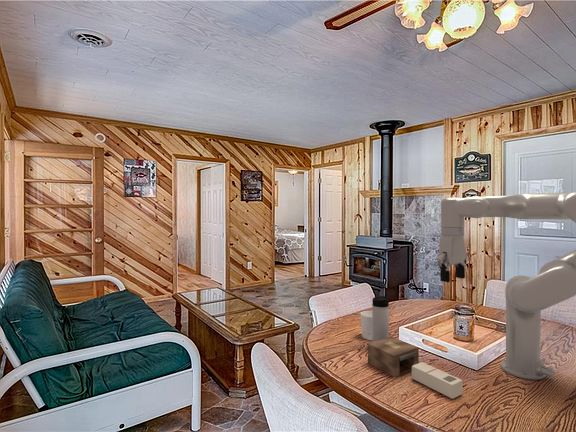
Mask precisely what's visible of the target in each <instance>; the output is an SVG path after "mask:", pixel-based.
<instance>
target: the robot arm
mask: <svg viewBox="0 0 576 432" xmlns="http://www.w3.org/2000/svg"><path fill="white" fill-rule="evenodd" d="M465 218H472V219H481V218H510V219H516V220H571V221H572V222H573V223H575V224H576V191H571V192H568V191H567V192H538V193H537V192H533V193H532V192H531V193H529V192H528V193H518V194H511V195H500V196H498V195H497V196H496V195H495V196H492V195H491V196H478V195H476V196H469V197H443V198H442V199H441V202H440V235H441V236H440V237H439V245H438V258H437V259H436V260H437V261H436V262H437V264H438V267H439V271H440V274H439V275H440V276H439V277H440V280H439V281H440V282H442V283H443V282H444V283H450V282H451V281H450V280H451V276H450V275H451V270H450V268H451V266H452V265H453V266H454V265H456V266H455V278H457V279H463V280H465V278H466V267H467V266H466V263H467V258H468V254H467V253H466V244H465V243H466V242H465ZM504 290H505V291H504V293H505V312H506V313H505V359H504V360H501V361H500V368H501V370H502V371H504V372H505V373H508V374H509V375H512V376H515V377H517V378H521V379H525V380H535V381H536V380H543V379H544V378H546V377H550V378H552V379H553V378H555V376H556V373H555V371H554V368H551V367H548V366H546V365H545V362H544V360H542V359H541V330H542V322H541V320H542V319H541V318H542V317H541V311H544V310H546V309H549V308H551V307H553V306H556V305H558V304H559V303H562V302H565V301H567V300H569V299H571V298H574V296H575V297H576V249H574V250H572V251H571V252H569V253H566V254H564V255H562V256H560V257H557V258H556V259H554V260H551V261H548V262H546V263H545V264H543V265H542V266H541V267H540V269H539V273H538V274H536V275H534V276H532V277H529V276H526V275H516V276H513V277H511V278H510V279H509V280H508V281H507V282H506V285H505V289H504Z"/></svg>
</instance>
